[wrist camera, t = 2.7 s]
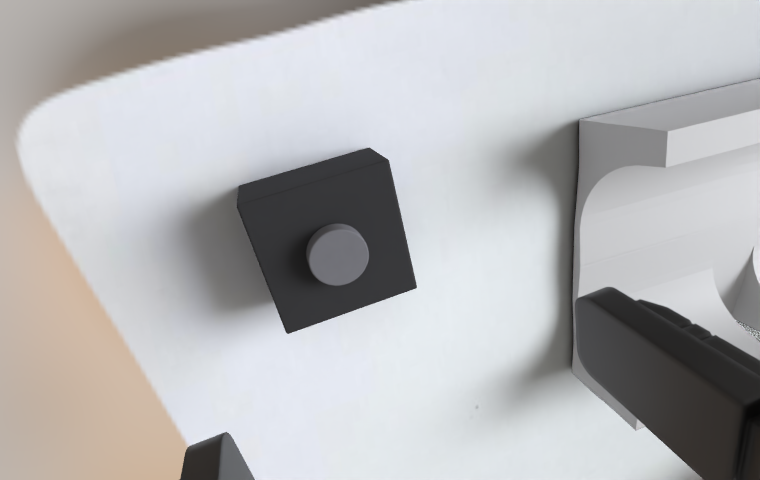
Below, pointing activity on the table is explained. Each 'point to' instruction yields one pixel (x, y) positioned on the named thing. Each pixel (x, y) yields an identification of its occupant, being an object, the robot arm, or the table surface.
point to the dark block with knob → (328, 237)
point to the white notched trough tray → (673, 213)
